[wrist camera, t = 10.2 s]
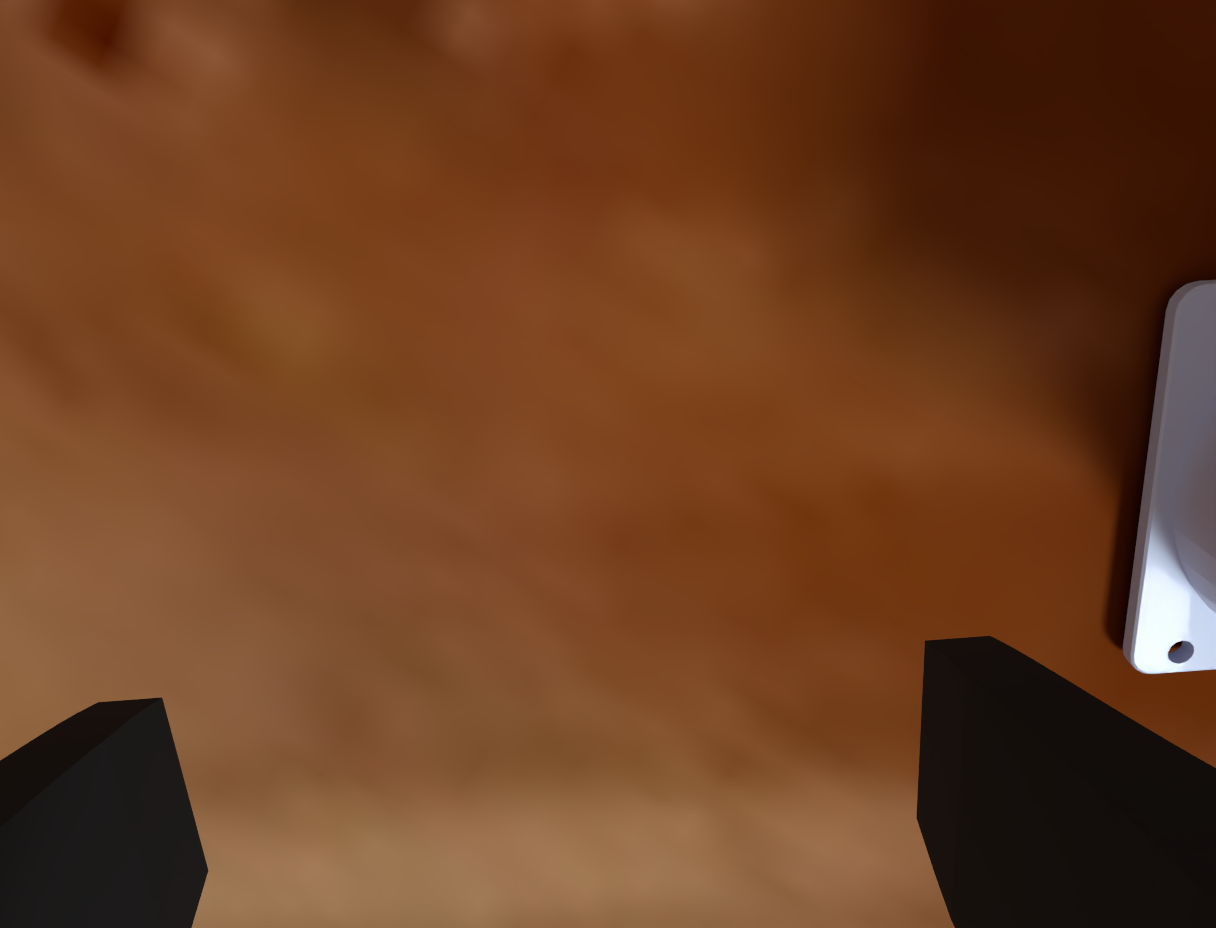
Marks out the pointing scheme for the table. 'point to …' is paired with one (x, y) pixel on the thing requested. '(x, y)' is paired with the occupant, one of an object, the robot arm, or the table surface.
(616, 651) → the table surface
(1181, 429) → the robot arm
